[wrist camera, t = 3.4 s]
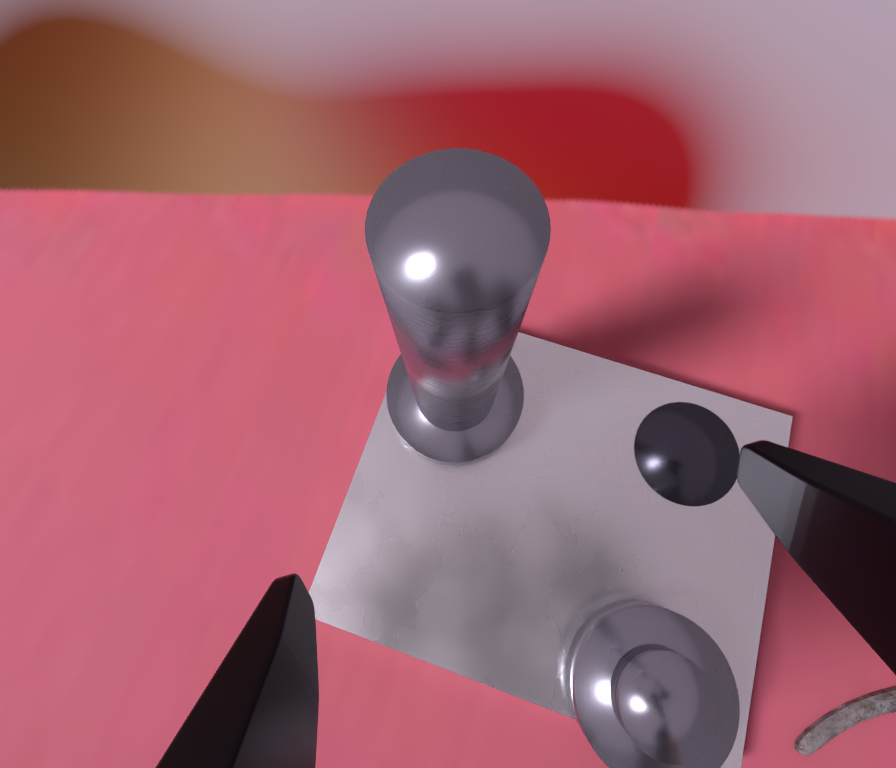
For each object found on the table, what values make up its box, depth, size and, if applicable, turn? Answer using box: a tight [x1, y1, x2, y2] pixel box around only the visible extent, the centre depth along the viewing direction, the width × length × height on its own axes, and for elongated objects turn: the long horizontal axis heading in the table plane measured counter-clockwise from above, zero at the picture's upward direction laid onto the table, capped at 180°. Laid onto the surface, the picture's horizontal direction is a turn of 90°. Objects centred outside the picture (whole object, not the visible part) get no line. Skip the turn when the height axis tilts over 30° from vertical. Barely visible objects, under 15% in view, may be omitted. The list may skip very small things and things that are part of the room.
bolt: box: [365, 148, 551, 466], centre depth 14 cm, size 6×6×13 cm
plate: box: [309, 332, 793, 768], centre depth 20 cm, size 14×17×1 cm
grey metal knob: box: [565, 600, 740, 768], centre depth 16 cm, size 6×6×2 cm
